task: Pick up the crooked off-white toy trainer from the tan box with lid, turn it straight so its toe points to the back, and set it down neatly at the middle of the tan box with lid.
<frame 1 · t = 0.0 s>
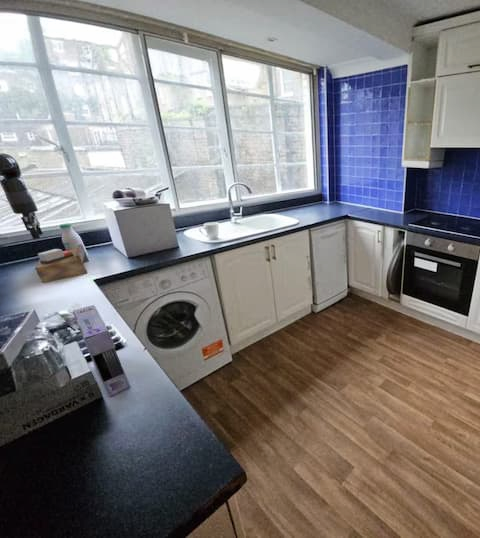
hand: (38, 236, 136), 20 cm above the table, tool pointing down, fingers open, 8 cm apart
milk bottle: (80, 259, 165), on the table
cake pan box: (114, 376, 78), on the table
tan box with lid: (67, 270, 149), on the table
trainer: (57, 259, 142), point 7 cm above the table, touching tan box with lid
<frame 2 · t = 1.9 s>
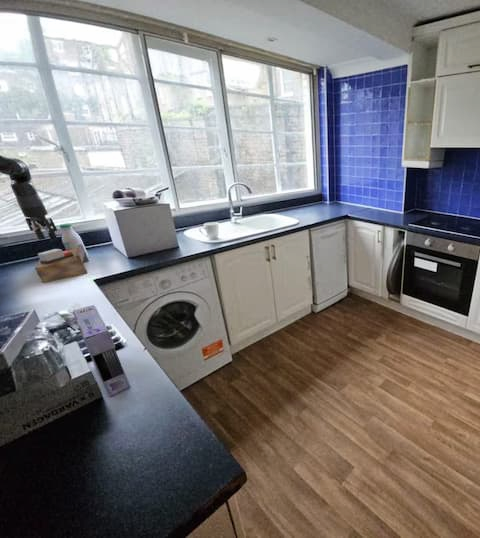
hand: (48, 239, 138), 18 cm above the table, tool pointing down, fingers open, 8 cm apart
nothing on the table moved.
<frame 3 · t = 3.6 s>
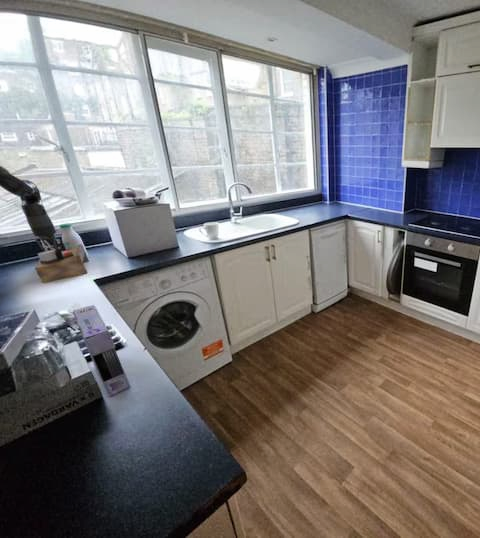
hand: (57, 258, 142), 8 cm above the table, tool pointing down, fingers closed on trainer, 4 cm apart
trainer: (57, 259, 142), point 7 cm above the table, touching gripper, tan box with lid
everything else where it was.
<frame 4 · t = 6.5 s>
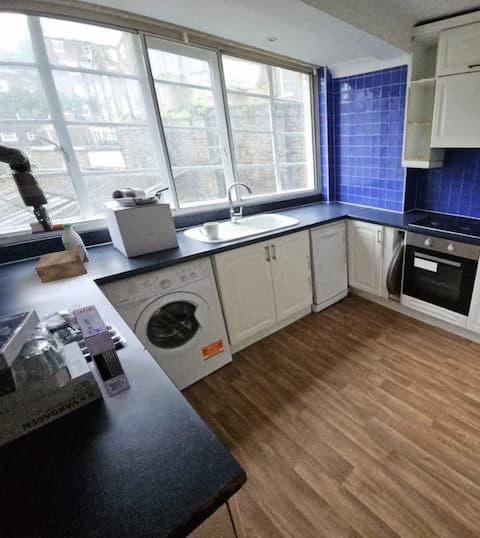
hand: (49, 230, 142), 21 cm above the table, tool pointing down, fingers closed on trainer, 4 cm apart
trainer: (49, 231, 142), point 20 cm above the table, touching gripper
everything else where it was.
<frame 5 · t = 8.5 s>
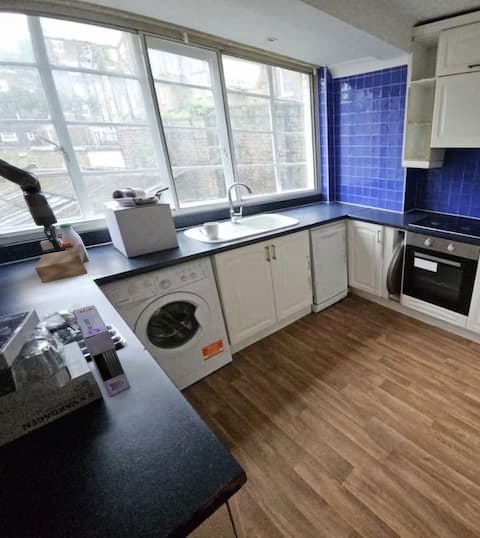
hand: (58, 248, 147), 11 cm above the table, tool pointing down, fingers closed on trainer, 4 cm apart
trainer: (58, 248, 147), point 11 cm above the table, touching gripper
everything else where it was.
when the fingers open (8 cm above the table, at t = 9.8 s): trainer stays where it is, resting on tan box with lid.
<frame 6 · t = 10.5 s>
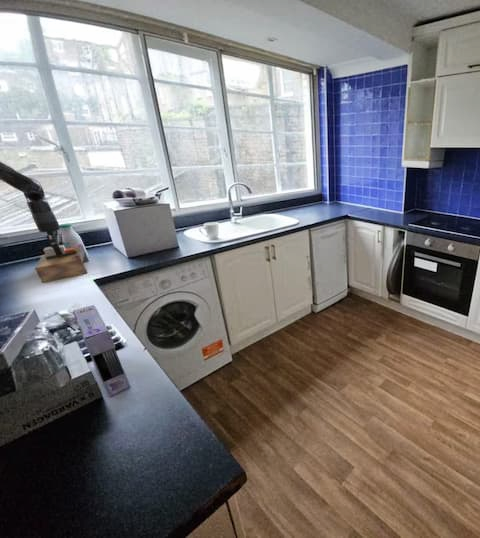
hand: (60, 252, 147), 9 cm above the table, tool pointing down, fingers open, 8 cm apart
trainer: (62, 255, 148), point 7 cm above the table, touching tan box with lid
everything else where it was.
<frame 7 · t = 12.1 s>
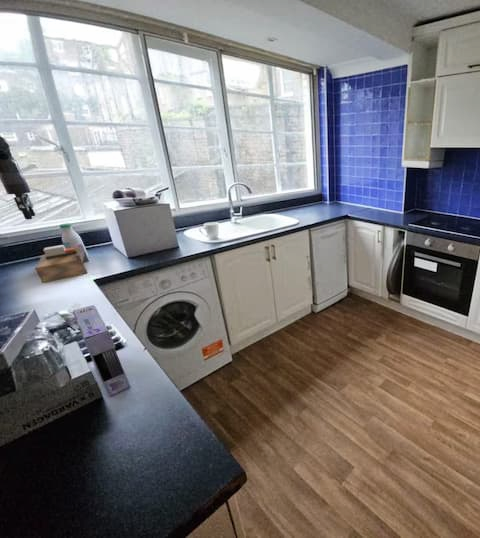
hand: (30, 217, 140), 27 cm above the table, tool pointing down, fingers open, 8 cm apart
nothing on the table moved.
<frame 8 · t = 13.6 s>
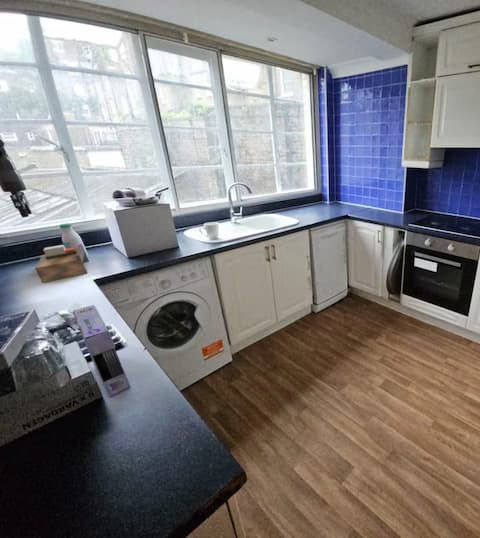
hand: (27, 215, 140), 28 cm above the table, tool pointing down, fingers open, 8 cm apart
nothing on the table moved.
at the end: trainer 0.0 cm from the target spot, point 7.5 cm above the table; trainer tilted 0°; the gripper is holding nothing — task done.
